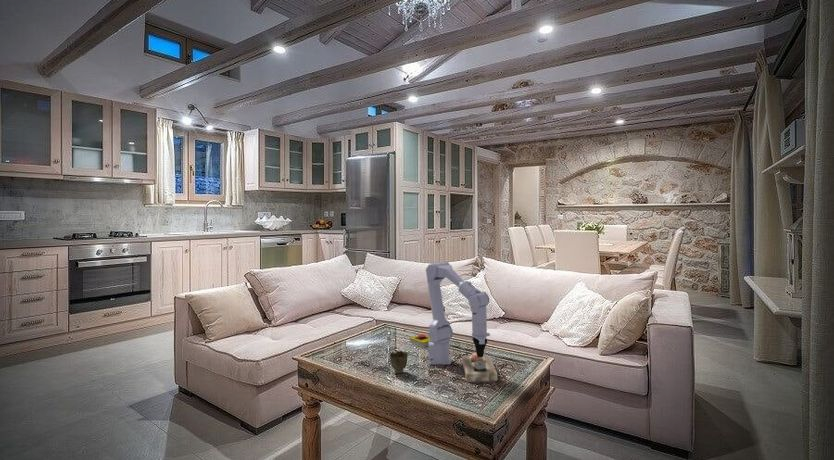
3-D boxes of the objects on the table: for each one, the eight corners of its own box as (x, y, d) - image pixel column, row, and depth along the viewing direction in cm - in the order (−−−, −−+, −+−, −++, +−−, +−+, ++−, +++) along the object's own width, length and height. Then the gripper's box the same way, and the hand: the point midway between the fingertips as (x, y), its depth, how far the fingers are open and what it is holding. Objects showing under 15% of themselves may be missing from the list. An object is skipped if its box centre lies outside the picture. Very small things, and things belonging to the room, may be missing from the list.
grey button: (475, 372, 157) (475, 364, 157) (474, 368, 162) (473, 360, 162) (486, 372, 157) (486, 364, 157) (484, 368, 162) (484, 360, 161)
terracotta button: (472, 363, 167) (472, 356, 167) (471, 359, 172) (471, 352, 172) (483, 363, 167) (482, 356, 167) (481, 359, 172) (481, 352, 171)
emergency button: (420, 331, 211) (439, 337, 200) (421, 339, 211) (440, 346, 200) (407, 334, 205) (425, 341, 194) (407, 343, 206) (425, 350, 194)
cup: (394, 377, 160) (394, 357, 160) (387, 371, 167) (386, 352, 167) (411, 373, 164) (410, 354, 164) (403, 367, 170) (403, 349, 170)
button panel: (466, 381, 155) (466, 374, 155) (462, 362, 175) (462, 356, 175) (497, 381, 154) (497, 373, 154) (489, 362, 174) (489, 355, 174)
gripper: (492, 327, 151) (493, 363, 152) (486, 318, 166) (487, 350, 166) (473, 328, 152) (474, 363, 152) (469, 318, 166) (470, 350, 167)
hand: (480, 356), depth 159 cm, fingers closed
